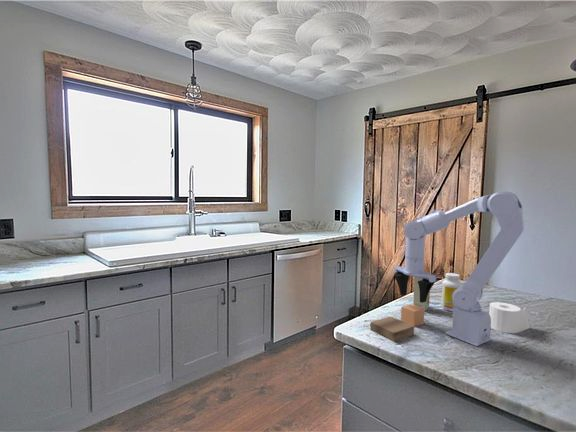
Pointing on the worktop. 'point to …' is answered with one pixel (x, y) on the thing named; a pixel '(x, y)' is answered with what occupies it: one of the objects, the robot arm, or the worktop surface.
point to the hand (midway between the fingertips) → (412, 298)
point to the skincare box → (417, 296)
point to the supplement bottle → (449, 290)
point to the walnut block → (392, 328)
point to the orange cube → (412, 315)
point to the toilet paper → (508, 318)
